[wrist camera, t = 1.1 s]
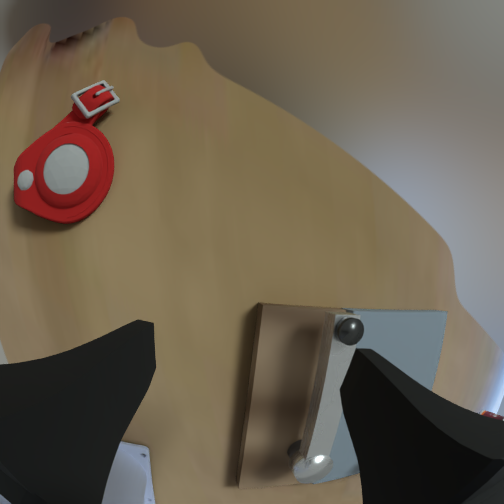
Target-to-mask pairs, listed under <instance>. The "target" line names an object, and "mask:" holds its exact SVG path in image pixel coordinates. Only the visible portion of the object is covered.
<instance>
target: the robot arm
mask: <svg viewBox="0 0 504 504" xmlns="http://www.w3.org/2000/svg"><path fill="white" fill-rule="evenodd" d="M155 369H156V360H155V343H154V323H151V322H147V321H142V320H136V321H133V322H131V323H129V324H127V325H125V326H122V327H120V328H118V329H116V330H114V331H112V332H110V333H108V334H106V335H104V336H102V337H100V338H97V339H95V340H93V341H91V342H88V343H86V344H83V345H81V346H78V347H76V348H74V349H71V350H68V351H66V352H63V353H60V354H56V355H53V356H49V357H46V358H42V359H37V360H31V361H26V362H20V363H13V364H2V365H0V504H155V498H154V491H153V483H152V475H151V466H150V455H149V449H148V448H147V447H146V446H143V445H137V444H132V443H127V442H122V441H121V440H122V437H123V435H124V433H125V431H126V429H127V427H128V426H129V424H130V422H131V420H132V418H133V416H134V414H135V413H136V411H137V409H138V407H139V405H140V403H141V402H142V400H143V398H144V396H145V394H146V392H147V390H148V388H149V386H150V383H151V380H152V378H153V375H154V372H155ZM339 390H340V397H341V404H342V410H343V414H344V417H345V421H346V424H347V427H348V431H349V434H350V437H351V440H352V444H353V447H354V450H355V453H356V457H357V461H358V465H359V471H360V478H361V485H362V497H363V504H504V421H503V420H499V419H495V418H491V417H487V416H484V415H481V414H478V413H475V412H472V411H470V410H467V409H465V408H462V407H460V406H458V405H456V404H454V403H452V402H450V401H448V400H446V399H444V398H442V397H440V396H439V395H437V394H435V393H433V392H432V391H430V390H429V389H427V388H426V387H424V386H423V385H421V384H420V383H418V382H417V381H415V380H414V379H412V378H411V377H410V376H408V375H407V374H406V373H404V372H403V371H401V370H400V369H399V368H397V367H396V366H395V365H393V364H392V363H391V362H389V361H388V360H387V359H385V358H384V357H383V356H381V355H380V354H378V353H377V352H375V351H374V350H372V349H368V348H356V349H355V352H354V354H353V357H352V360H351V362H350V365H349V368H348V370H347V373H346V375H345V378H344V380H343V382H342V385H341V387H340V389H339ZM143 454H145V455H143Z"/></svg>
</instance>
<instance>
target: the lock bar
mask: <svg viewBox="0 0 504 504" xmlns="http://www.w3.org/2000/svg"><path fill="white" fill-rule="evenodd" d="M360 316H361V315H357V314H353V313H348V312H325V317H324V325H323V332H322V339H321V345H320V352H319V358H318V364H317V370H316V375H315V381H314V386H313V391H312V396H311V401H310V406H309V411H308V415H307V420H306V424H305V428H304V433H303V437H302V441H301V445H300V449H299V450H297V451H296V452H295V453H294V454H293V455H292V456H291V457H290V459H289V463H288V464H289V467H290V469H291V471H292V473H293V474H294V476H295V478H296V479H297V481H298V482H300V483H306V484H307V483H313V482H316V481H319V480H321V479H322V478H324V477H325V476H326V475H327V474H328V473H329V472H330V471H331V469H332V467H333V460H332V459H331V458H330V457H329V455H330V452H331V449H332V446H333V442H334V439H335V436H336V432H337V429H338V425H339V422H340V418H341V414H342V404H341V397H340V390H339V389H340V387H341V385H342V382H343V380H344V378H345V375H346V373H347V370H348V368H349V365H350V362H351V360H352V357H353V354H354V352H355V349H356V344H357V343H358V342H359V341H360V340H361V339H362V337H363V334H364V325H363V323H362V322H361V320H360Z"/></svg>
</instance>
